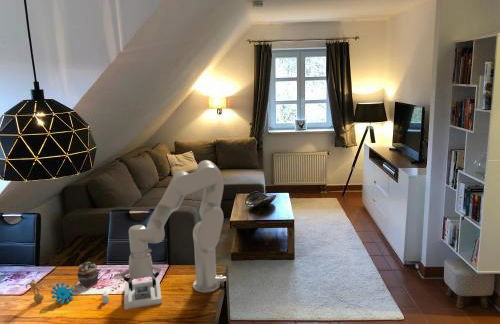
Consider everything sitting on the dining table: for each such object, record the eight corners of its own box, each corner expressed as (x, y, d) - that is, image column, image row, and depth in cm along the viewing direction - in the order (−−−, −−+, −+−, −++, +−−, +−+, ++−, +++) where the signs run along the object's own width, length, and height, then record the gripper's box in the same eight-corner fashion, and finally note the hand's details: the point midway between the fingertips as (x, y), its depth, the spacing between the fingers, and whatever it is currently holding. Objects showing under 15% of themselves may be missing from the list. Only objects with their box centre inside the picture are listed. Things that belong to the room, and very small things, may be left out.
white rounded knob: (109, 299, 179) (108, 291, 178) (108, 303, 176) (108, 295, 175) (102, 300, 178) (101, 292, 177) (102, 304, 175) (101, 296, 174)
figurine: (50, 299, 180) (47, 274, 177) (43, 307, 174) (39, 281, 171) (33, 298, 180) (29, 274, 178) (24, 306, 174) (20, 281, 172)
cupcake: (73, 285, 191) (71, 266, 189) (88, 276, 200) (86, 257, 197) (89, 289, 187) (86, 270, 185) (104, 279, 196) (101, 260, 194)
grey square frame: (150, 289, 185) (150, 284, 184) (151, 299, 177) (150, 294, 177) (135, 291, 183) (134, 286, 183) (135, 301, 175) (134, 296, 175)
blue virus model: (58, 305, 172) (48, 286, 174) (52, 312, 174) (42, 293, 177) (80, 296, 181) (70, 278, 184) (74, 303, 184) (64, 284, 186)
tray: (159, 283, 191) (159, 278, 191) (161, 303, 175) (161, 298, 174) (125, 288, 187) (125, 283, 187) (124, 309, 171) (124, 304, 170)
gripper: (159, 246, 182) (161, 280, 186) (119, 252, 178) (123, 286, 182) (160, 253, 175) (162, 289, 179) (118, 259, 171) (122, 295, 175)
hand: (142, 288), depth 180 cm, fingers open, 9 cm apart
